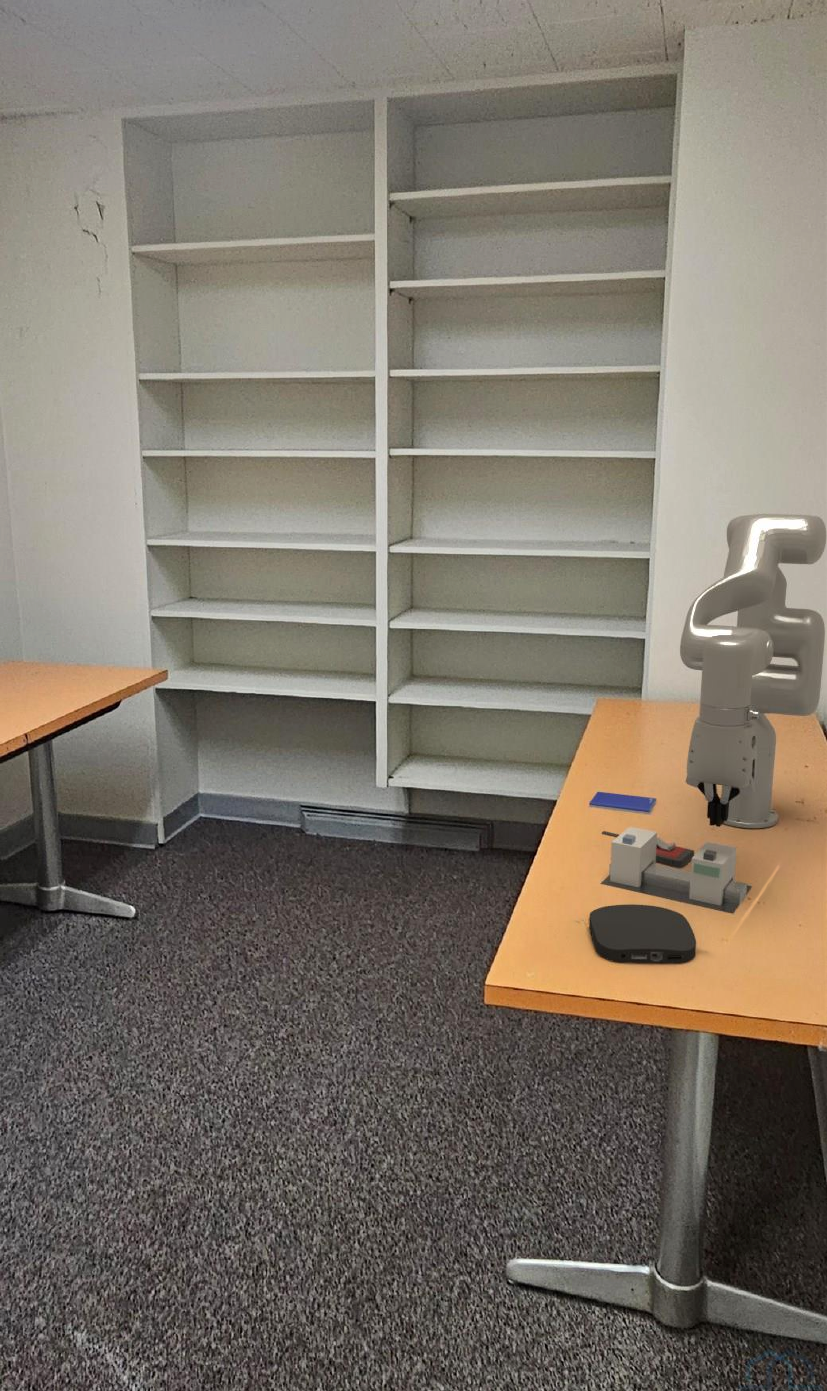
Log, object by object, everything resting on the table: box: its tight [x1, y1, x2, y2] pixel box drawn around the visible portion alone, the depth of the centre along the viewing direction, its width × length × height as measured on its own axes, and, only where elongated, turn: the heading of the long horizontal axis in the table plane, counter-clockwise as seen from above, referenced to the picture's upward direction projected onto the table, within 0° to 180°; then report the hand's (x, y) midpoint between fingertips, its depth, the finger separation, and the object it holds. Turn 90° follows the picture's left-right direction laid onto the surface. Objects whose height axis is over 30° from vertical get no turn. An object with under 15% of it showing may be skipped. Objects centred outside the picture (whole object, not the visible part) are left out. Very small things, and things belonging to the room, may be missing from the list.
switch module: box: [689, 841, 738, 905], centre depth 164 cm, size 9×5×8 cm, turn 149°
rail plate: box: [600, 862, 753, 915], centre depth 168 cm, size 12×22×3 cm, turn 58°
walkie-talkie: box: [601, 830, 695, 869], centre depth 183 cm, size 9×4×20 cm
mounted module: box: [610, 826, 658, 887], centre depth 171 cm, size 8×5×8 cm, turn 148°
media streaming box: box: [588, 903, 697, 965], centre depth 151 cm, size 15×15×3 cm
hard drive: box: [589, 791, 658, 815], centre depth 210 cm, size 2×8×12 cm
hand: (717, 823), depth 163 cm, fingers closed
